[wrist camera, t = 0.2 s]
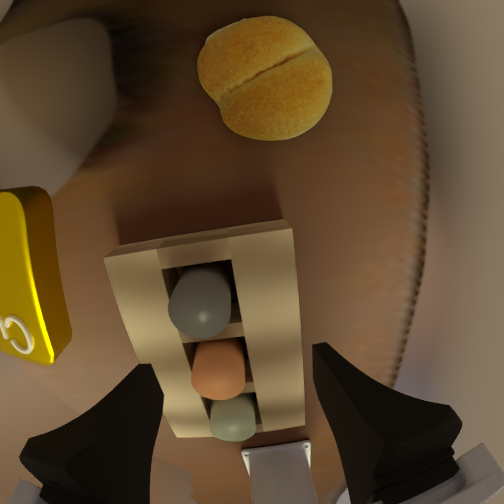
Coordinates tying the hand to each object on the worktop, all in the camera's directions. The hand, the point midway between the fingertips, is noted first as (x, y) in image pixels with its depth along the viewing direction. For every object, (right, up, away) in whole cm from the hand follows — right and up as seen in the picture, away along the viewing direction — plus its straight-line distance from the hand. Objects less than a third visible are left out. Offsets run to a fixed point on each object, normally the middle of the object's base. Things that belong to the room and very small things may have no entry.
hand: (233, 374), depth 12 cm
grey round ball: (-2, +3, +7) cm, 8 cm away
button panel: (-2, -2, +10) cm, 11 cm away
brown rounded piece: (-2, -2, +9) cm, 9 cm away
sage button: (-1, -7, +11) cm, 13 cm away
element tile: (-23, +4, +8) cm, 24 cm away
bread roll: (+2, +17, +5) cm, 18 cm away
